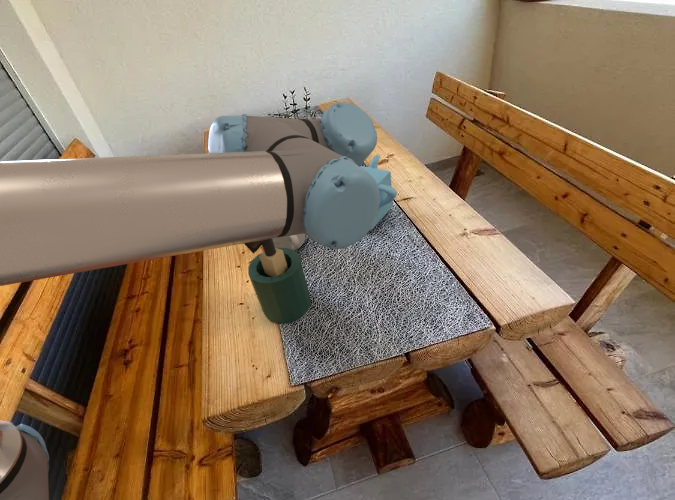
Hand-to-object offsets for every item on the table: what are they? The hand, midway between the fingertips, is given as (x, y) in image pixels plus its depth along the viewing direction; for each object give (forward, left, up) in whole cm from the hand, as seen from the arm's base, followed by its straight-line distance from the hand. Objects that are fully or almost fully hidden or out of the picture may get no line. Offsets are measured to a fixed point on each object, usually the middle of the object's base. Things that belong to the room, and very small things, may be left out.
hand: (255, 243), depth 77 cm
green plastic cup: (+1, -4, -16) cm, 17 cm away
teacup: (+11, +13, -16) cm, 24 cm away
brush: (+1, -4, -6) cm, 7 cm away
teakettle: (+32, +12, -16) cm, 38 cm away
